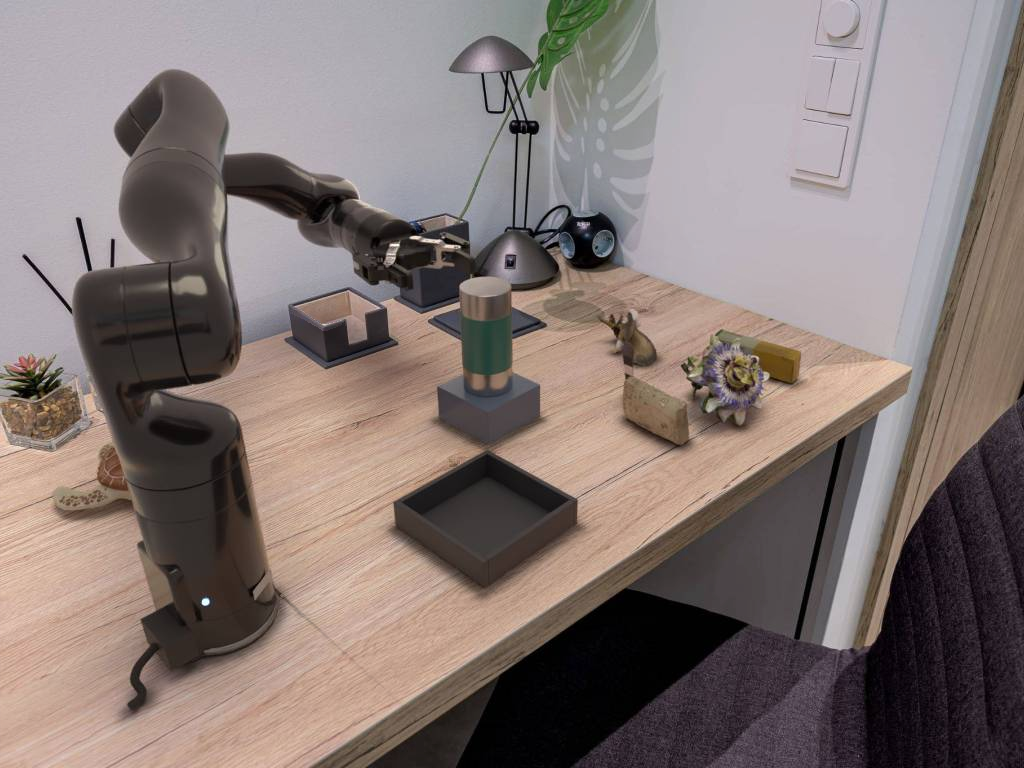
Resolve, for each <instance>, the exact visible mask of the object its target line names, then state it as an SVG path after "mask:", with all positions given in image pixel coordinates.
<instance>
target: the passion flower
mask: <svg viewBox="0 0 1024 768" xmlns="http://www.w3.org/2000/svg"><path fill="white" fill-rule="evenodd" d="M714 335H715V334H710V338H709V342H708V343H709V345H707V346H706V347H705V348H704V349H703V353H702V357H701V361H699V364H697V366H696V365H695V364H694V363H696V362H697V361H698V360H700V357H698V356H693V355H690V356H688V357H687V363H686V362H685V361H684V362H682V364H680V368H681V369H682V370H683V372H685V374H686V377H685V378H686V380H687V381H688V382H690V385H691V387H692V397H693V398H695V396H696V393H697V391H700V390H701V389H703V387H706V388H708V389H709V391H708V393H707V395H706V396H705V397H704V398H703V399H702V400H701V402H700V405H699V410H700V412H701V413H702V414H710V413H712V412H714V411H715V415H716V417H717V419H718V420H719V421H720V422H721V424H725V422H726V421H727V420H728V418H729V419H730V420H731V421H732V423H734V424H735V425H737V427H738V426H742V425H743V423H745V419H746V412H747V410H748V409H749V407H751V408H753V409H756V410H761V409H762V408H763V400H762V399H761V397H760V395H761V396H764V394H763V393H762V391H766V389H765V388H764V387H763V383H765V382H768V380H769V379H770V377H769V376H770V375H769V373H767V372H763V371H762V369H760V366H759V365H758V362H759V357H757V356H751V355H748V354H746V355H744V352H745V349H743V350H742V351H741V349H740V348H739V347H740V339H738V338H737V339H735V340H734V341H732V342H731V343H730V345H729V344H728V343H726V345H722V343H721V342H720V341H719V340H718V337H717V336H714ZM707 350H708V353H707V354H706V351H707ZM689 368H692V369H691V370H690V369H689Z"/></svg>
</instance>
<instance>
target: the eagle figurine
mask: <svg viewBox="0 0 1024 768" xmlns="http://www.w3.org/2000/svg"><path fill="white" fill-rule="evenodd" d="M619 315H620V317H619V319H618V320H617V322H616V318H615V315H614V314H613V313H611V314H609V318H608V319H605V318H604V317H602V316H601V315H600V314H598V313H597V314H596V317H597V319H598V320H599V322H601V323H602V324H605V325H606V326H608V327H609V328H610V329H611V331H612V332H613V336H615V338H616V339H617V340H616V344H615V348H614V351H613V354H617V353H618V352H620V351H621V350H623V347H624V346H626V344H627V343H629V344H630V345H631V348H632V351H633V354H632V355H633V357H632V358H633V364H637V365H638V366H643V367H646V366H650V364H653V363H654V362H655V361H656V359H657V357H658V353H657V349H656V347H655V345H654V344H653V342H652V340H651V338H649V337H648V335H646V334H645V333H643V332H642V331H640V330H639V329H638V328H640V327H641V326H642V323H641V322H642V321H641V319H640V318H641V317H640V315H639V312H638V311H637V310H636V309H634V308H629V309H628V313H627V315H626V317H627V321H626V322H623V321H624V315H623V313H620V314H619Z"/></svg>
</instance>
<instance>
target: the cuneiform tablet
mask: <svg viewBox="0 0 1024 768" xmlns="http://www.w3.org/2000/svg"><path fill="white" fill-rule="evenodd" d="M622 360H623V361H622V362H623V370H624V381H623V390H622V400H621V401H622V411H623V414H624V416H625V417H626V418H627V419H628V420H630V421H631V422H633V423H635V424H636V425H638V426H639V427H641V428H643V429H645V430H646V431H648V432H651V433H652V434H653V435H657V436H660V437H661V438H662V439H666V440H668V441H670V442H671V443H674V444H675V445H678V446H683V445H684V444H686V443H687V442H688V440H689V437H690V428H689V418H688V405H687V402H686V401H685V400H682V399H680V398H677V397H675V396H672V395H670V394H668V393H666V392H665V391H664V390H663V391H662V390H660V388H657V387H656V386H654V385H651V384H649V383H647V382H645V381H643V380H641V379H640V378H637V377H635V376H634V375H635V374H634V373H635V372H634V362H633V357H632V356H629V355H626V354H625V353H622Z"/></svg>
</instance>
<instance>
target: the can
mask: <svg viewBox="0 0 1024 768" xmlns="http://www.w3.org/2000/svg"><path fill="white" fill-rule="evenodd" d="M458 292H459V322H460V340H461V341H460V344H461V345H460V347H461V365H462V374H463V382H464V388H465V390H466V391H467V392H469V393H470V394H473V395H476V396H481V397H493V396H498V395H502V394H504V393H506V392H508V391H509V390H510V389H511V388H512V385H513V374H512V372H513V363H514V356H513V355H514V351H513V350H514V349H513V344H514V343H513V308H512V307H513V306H512V304H513V301H512V300H513V299H512V298H513V297H512V284H511V283H510V282H509V281H508V280H507V279H505V278H501V277H496V276H477V277H471V278H468V279H466V280H464V281H462V282H461V283H460V284H459V286H458Z"/></svg>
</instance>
